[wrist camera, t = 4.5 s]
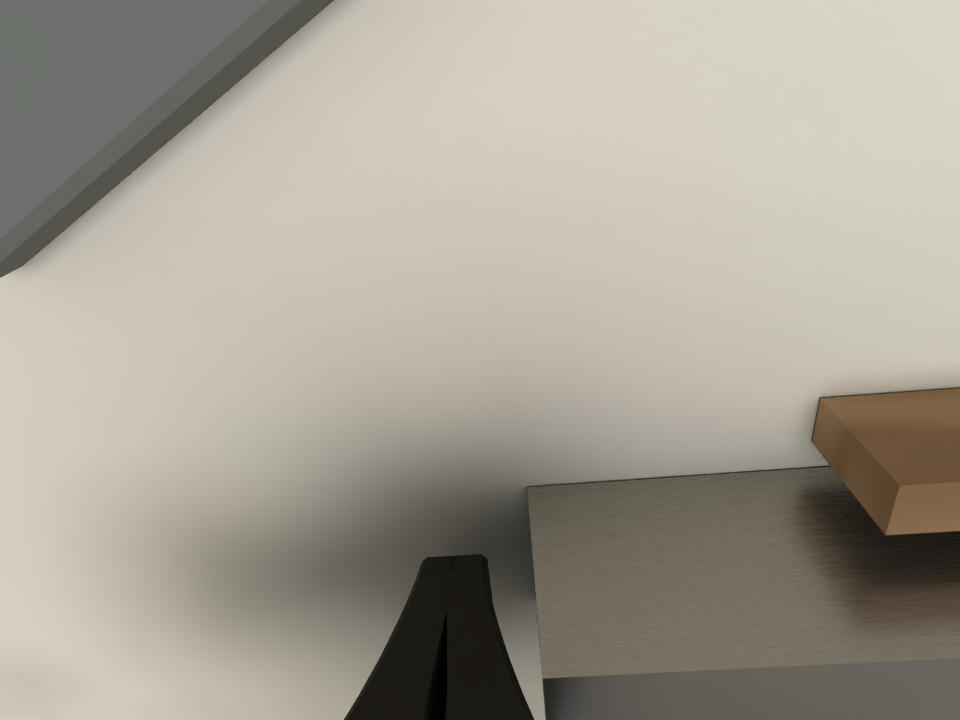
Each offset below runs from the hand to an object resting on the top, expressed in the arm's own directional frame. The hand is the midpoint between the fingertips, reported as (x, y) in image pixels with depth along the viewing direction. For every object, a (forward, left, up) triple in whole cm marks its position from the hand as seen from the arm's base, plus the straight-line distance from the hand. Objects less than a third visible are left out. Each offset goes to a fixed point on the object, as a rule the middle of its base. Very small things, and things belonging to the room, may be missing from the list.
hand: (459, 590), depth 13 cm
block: (0, -6, -1) cm, 6 cm away
